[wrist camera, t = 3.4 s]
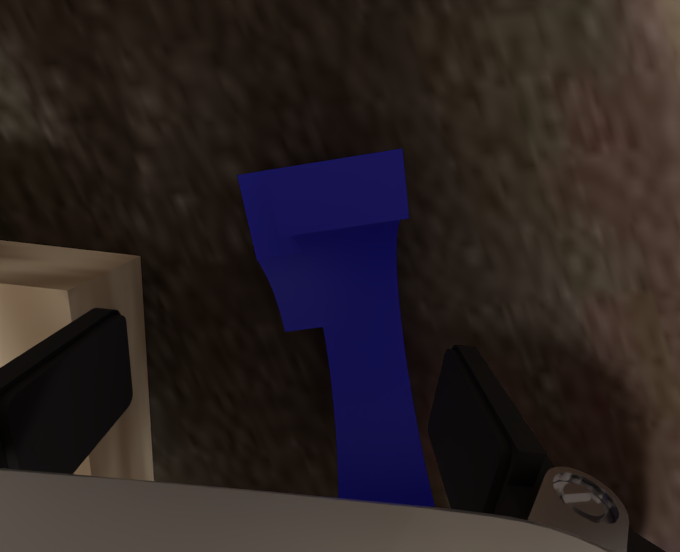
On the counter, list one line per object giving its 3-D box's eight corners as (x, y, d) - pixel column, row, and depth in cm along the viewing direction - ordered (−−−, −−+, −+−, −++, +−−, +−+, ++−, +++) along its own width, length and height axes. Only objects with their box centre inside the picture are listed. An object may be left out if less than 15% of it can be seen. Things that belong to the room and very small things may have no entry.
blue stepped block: (259, 171, 14) (198, 181, 8) (378, 152, 13) (402, 148, 8) (314, 429, 17) (299, 563, 12) (409, 419, 17) (440, 550, 11)
